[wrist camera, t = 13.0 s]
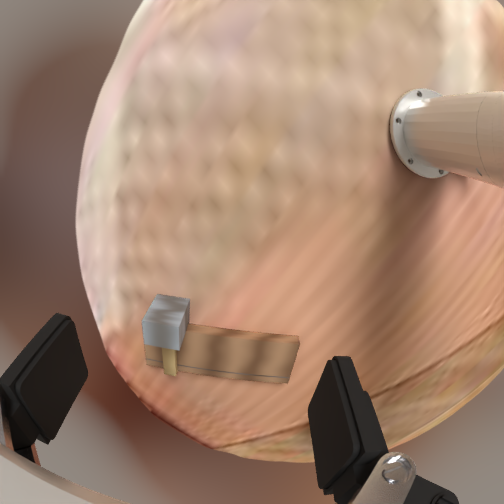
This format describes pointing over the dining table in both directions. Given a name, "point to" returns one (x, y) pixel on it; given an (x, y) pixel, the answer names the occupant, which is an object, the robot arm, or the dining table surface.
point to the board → (232, 354)
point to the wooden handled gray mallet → (167, 327)
